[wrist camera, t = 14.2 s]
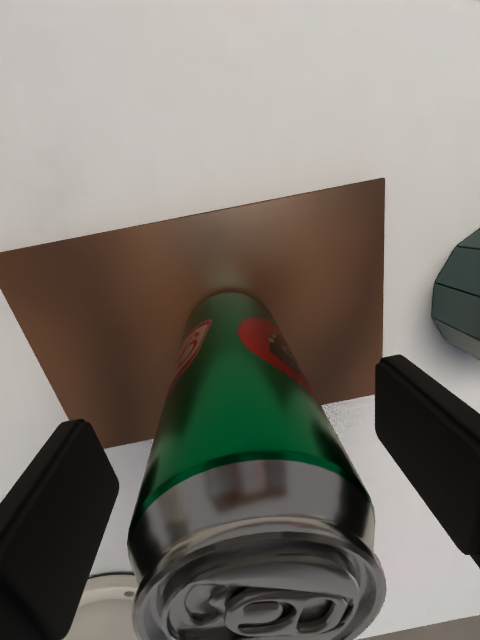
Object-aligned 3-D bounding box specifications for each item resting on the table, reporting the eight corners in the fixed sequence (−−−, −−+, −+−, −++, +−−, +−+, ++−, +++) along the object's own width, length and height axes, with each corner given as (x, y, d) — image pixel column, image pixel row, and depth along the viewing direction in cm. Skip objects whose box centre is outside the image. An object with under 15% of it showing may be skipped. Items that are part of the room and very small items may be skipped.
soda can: (189, 283, 15) (100, 511, 3) (282, 295, 15) (461, 518, 4) (182, 366, 16) (108, 695, 5) (265, 373, 17) (358, 681, 6)
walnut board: (92, 441, 19) (85, 453, 18) (-3, 253, 14) (-18, 255, 13) (374, 384, 19) (382, 393, 18) (374, 179, 14) (385, 177, 13)
